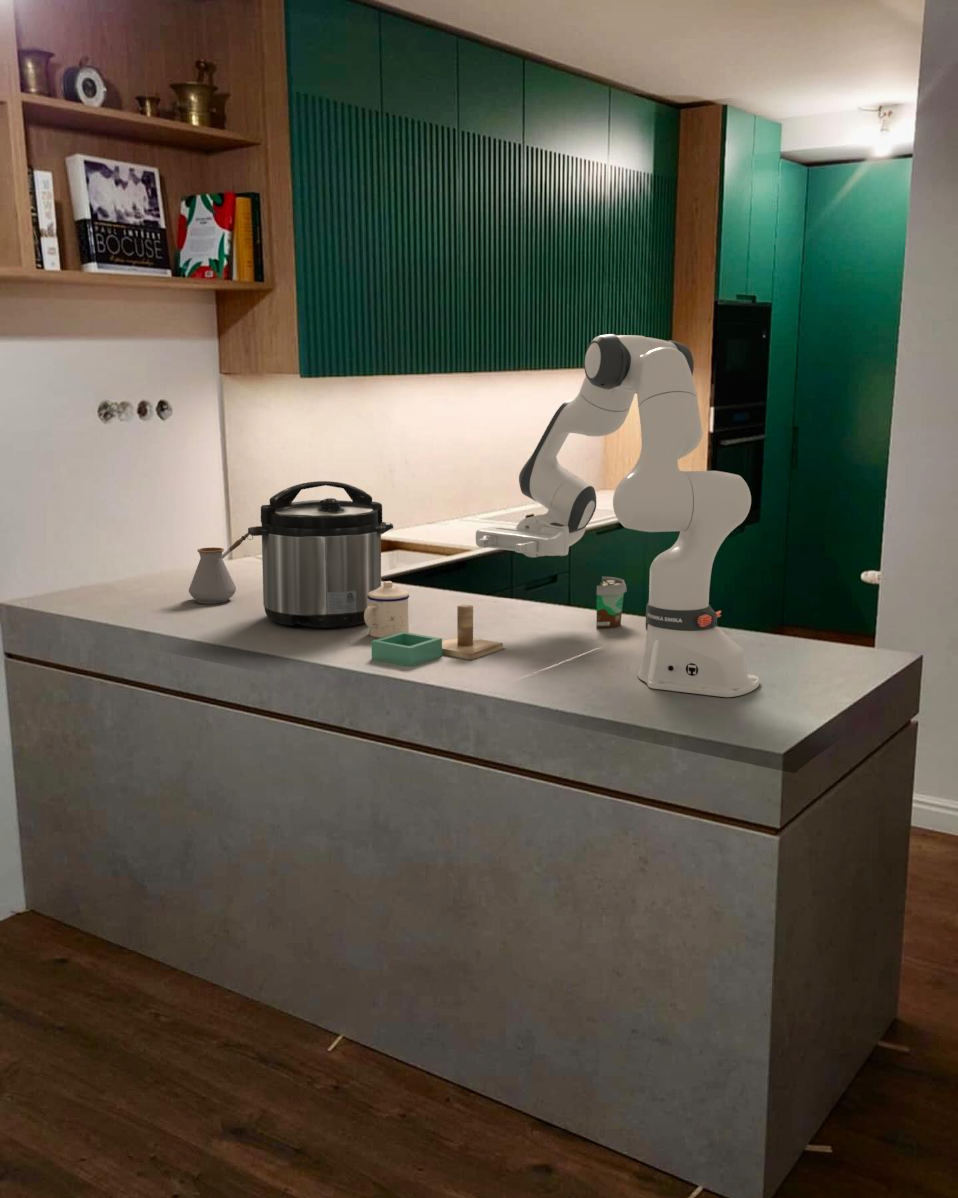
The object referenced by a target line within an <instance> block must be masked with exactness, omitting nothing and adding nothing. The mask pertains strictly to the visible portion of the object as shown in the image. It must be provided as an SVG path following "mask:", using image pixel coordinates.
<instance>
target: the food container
mask: <svg viewBox="0 0 958 1198" xmlns="http://www.w3.org/2000/svg"><path fill="white" fill-rule="evenodd" d="M627 590H628V589H627V584H626V583H625V580H624V579H622V578H618V577H614V576H601V582H600V583H599V585H597V586H596V622H595V623H596V627H595V628H596V630H609V629H610V630H611V629H616V628H619V627H620V626H621V624H622V614H623V604H624V595H625V593H626V592H628V591H627Z"/></svg>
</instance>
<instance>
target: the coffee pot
mask: <svg viewBox="0 0 958 1198" xmlns="http://www.w3.org/2000/svg"><path fill="white" fill-rule="evenodd" d="M249 535H250V534H249V533H248V532H247V533H245V534H244V535H242V536H241V538H239V539H237V540H236V541H235V542H234V543H233V544H232V545H231V546H230V547H229V548H228V549H227V550H226V551H225V549H224V548H223V547H202V548H198V549H197V553H199V554H198V555H199V556H200V559H199V561H198V564H197V567H196V569H195V572H194V575H193V577H192V580H191V583H190V584H189V585H190V586H189V587H188V592H189V594H190V596H191V597H192V598H193V599H194V600H196V602H197V603H200V604H205V605H206V604H209V605H210V604H221V603H225V602H229V601H230V598H232V597H233V596H234V595H235V593H236V591H237V587H236V585H235V582H234V580H233V578H232V576H231V574H230V572H229V570H228V568H227V566H226V564H225V562H224V558H226V556H228V555H229V554H230V553H231V552H232V551H233V550H235V549H236V548H238V547H239V546H241V544H242V543H243V541H246V540H249V541H253V539H254V536H252V535H250V536H251V537H252V538H249ZM224 551H225V552H224Z"/></svg>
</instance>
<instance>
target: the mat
mask: <svg viewBox="0 0 958 1198" xmlns="http://www.w3.org/2000/svg"><path fill="white" fill-rule="evenodd" d="M504 650H506V648H504V647H503V649H500V650H498V651H495V652H492V653H489V654H486V655H483V656H480V657H477V658H474V659H472V660H470V659H465V658H459V657H454V656H448V655H443V654H442V657H443V656H444V657H450V658H454V659H458V660H459V659H460V660H465V661H470V662H471V661H475V660H478V659H481V658H484V657H488V656H489V655H493V654H495V653H498V652H500V651H504Z"/></svg>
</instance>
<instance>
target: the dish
mask: <svg viewBox="0 0 958 1198" xmlns="http://www.w3.org/2000/svg"><path fill="white" fill-rule="evenodd" d="M442 641H443V638H441V637H436V636H429V635H426V634H425V635H424V634H419V633H413V632H401V633H397V634H394V635H391V636H387V637H384V638H377V639H374V640H371V642H370V643H371V659H372V660H375V661H381V662H386V663H391V664H396V665H401V666H405V667H413V666H416V665H420V664H422V663H425V662H429V661H431V660H434V659H439V658H441V657H443V655H442Z"/></svg>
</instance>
